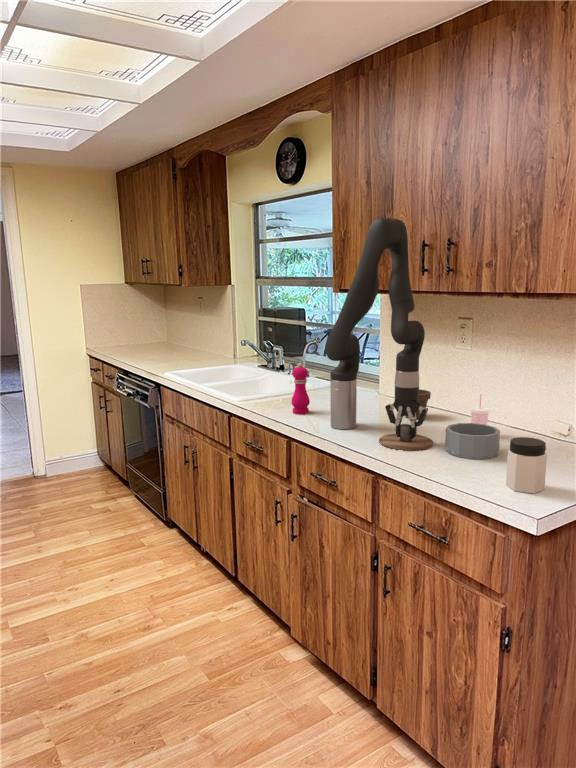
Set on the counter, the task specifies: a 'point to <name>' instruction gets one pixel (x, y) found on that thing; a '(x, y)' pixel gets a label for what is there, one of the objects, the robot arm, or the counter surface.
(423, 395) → the flower pot
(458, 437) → the grey hollow cylinder
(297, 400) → the pepper mill
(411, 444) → the walnut lid
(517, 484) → the jar
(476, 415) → the beverage cup
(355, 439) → the counter surface
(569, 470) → the counter surface
